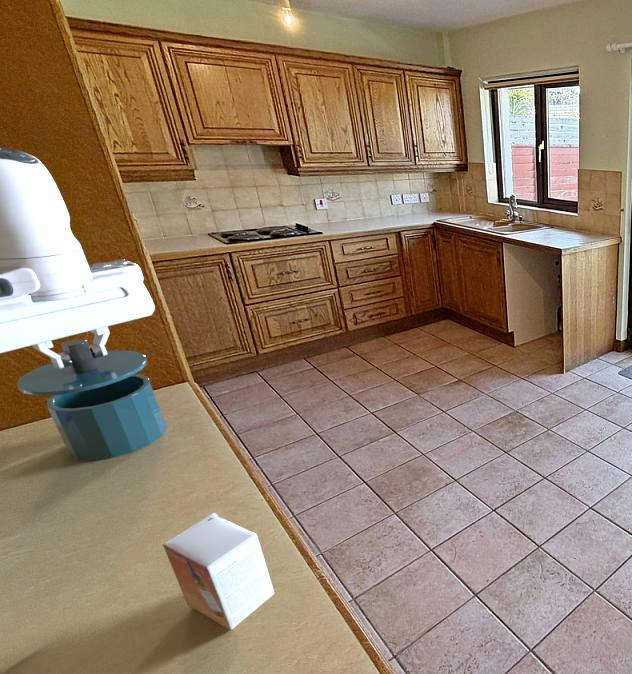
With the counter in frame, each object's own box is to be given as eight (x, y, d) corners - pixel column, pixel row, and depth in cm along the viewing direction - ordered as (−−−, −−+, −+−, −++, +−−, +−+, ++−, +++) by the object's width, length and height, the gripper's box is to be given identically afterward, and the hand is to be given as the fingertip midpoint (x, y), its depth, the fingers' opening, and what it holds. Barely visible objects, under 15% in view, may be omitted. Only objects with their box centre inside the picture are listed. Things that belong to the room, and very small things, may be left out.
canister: (56, 450, 83) (30, 398, 79) (143, 415, 94) (124, 368, 89) (96, 471, 79) (71, 418, 74) (182, 432, 89) (165, 383, 85)
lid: (1, 384, 68) (-17, 349, 66) (119, 350, 80) (107, 319, 78) (49, 408, 64) (31, 371, 62) (167, 368, 75) (156, 336, 73)
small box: (187, 606, 58) (159, 543, 54) (234, 571, 63) (212, 511, 59) (230, 632, 55) (205, 568, 51) (276, 593, 60) (257, 532, 56)
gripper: (124, 254, 75) (152, 333, 81) (-84, 286, 58) (-31, 384, 63) (148, 260, 73) (174, 341, 79) (-62, 295, 56) (-9, 396, 61)
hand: (81, 361), depth 71 cm, fingers closed on lid, 2 cm apart
